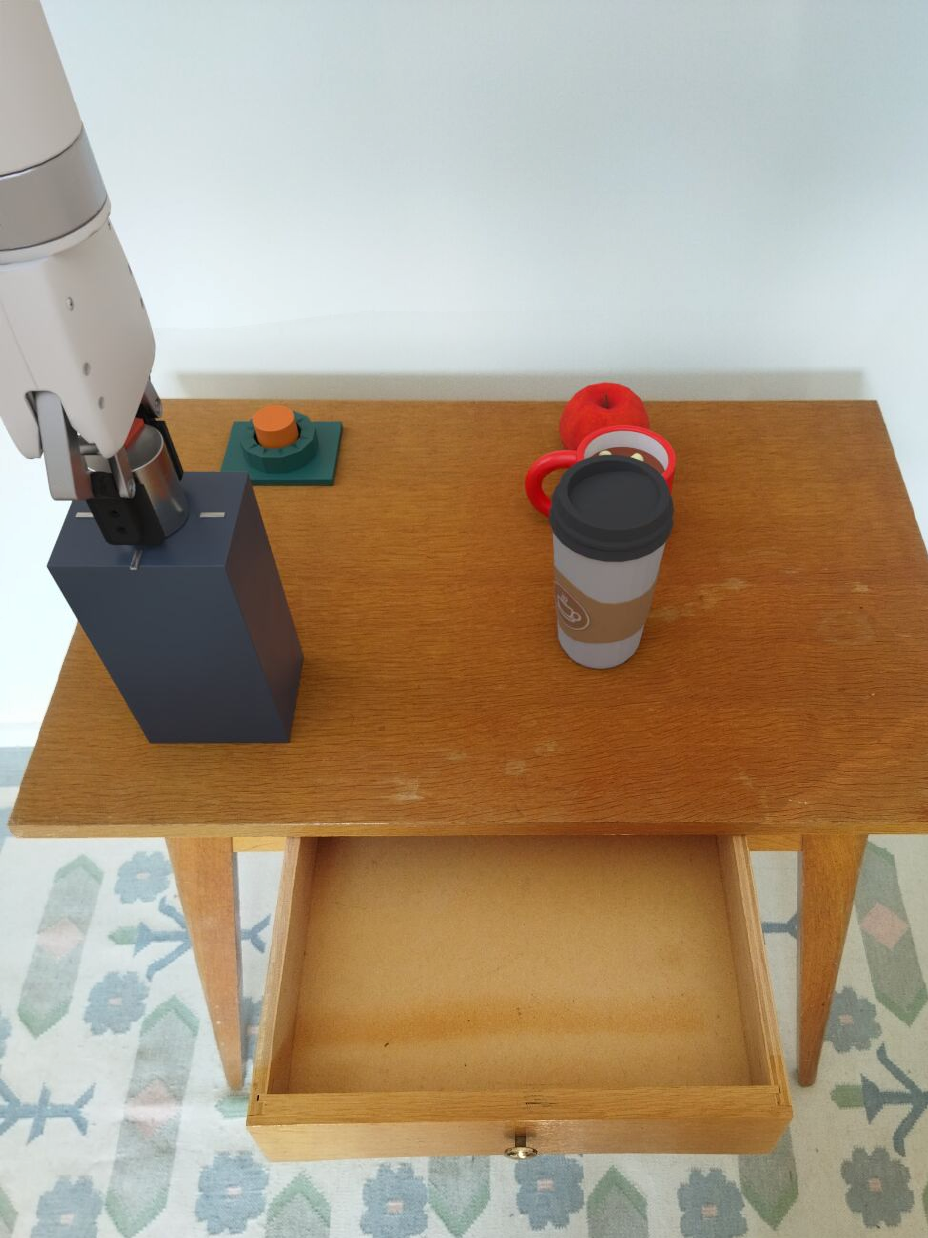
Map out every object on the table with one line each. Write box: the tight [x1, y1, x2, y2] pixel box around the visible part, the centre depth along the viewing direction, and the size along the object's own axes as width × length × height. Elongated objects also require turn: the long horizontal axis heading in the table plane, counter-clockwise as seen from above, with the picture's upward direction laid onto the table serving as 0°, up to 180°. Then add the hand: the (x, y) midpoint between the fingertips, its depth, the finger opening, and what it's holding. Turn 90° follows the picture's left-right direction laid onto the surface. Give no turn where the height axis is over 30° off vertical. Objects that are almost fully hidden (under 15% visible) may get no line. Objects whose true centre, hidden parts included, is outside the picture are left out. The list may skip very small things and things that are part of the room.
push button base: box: [219, 410, 344, 486], centre depth 85 cm, size 10×8×2 cm
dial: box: [84, 418, 189, 538], centre depth 53 cm, size 4×4×5 cm
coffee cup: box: [548, 455, 675, 670], centre depth 68 cm, size 8×8×15 cm
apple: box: [558, 381, 651, 451], centre depth 83 cm, size 8×8×7 cm
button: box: [252, 404, 299, 448], centre depth 83 cm, size 4×4×2 cm
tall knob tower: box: [46, 471, 305, 744], centre depth 63 cm, size 10×9×18 cm
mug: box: [524, 425, 677, 518], centre depth 78 cm, size 8×12×8 cm, turn 85°
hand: (146, 506), depth 55 cm, fingers closed on dial, 4 cm apart
